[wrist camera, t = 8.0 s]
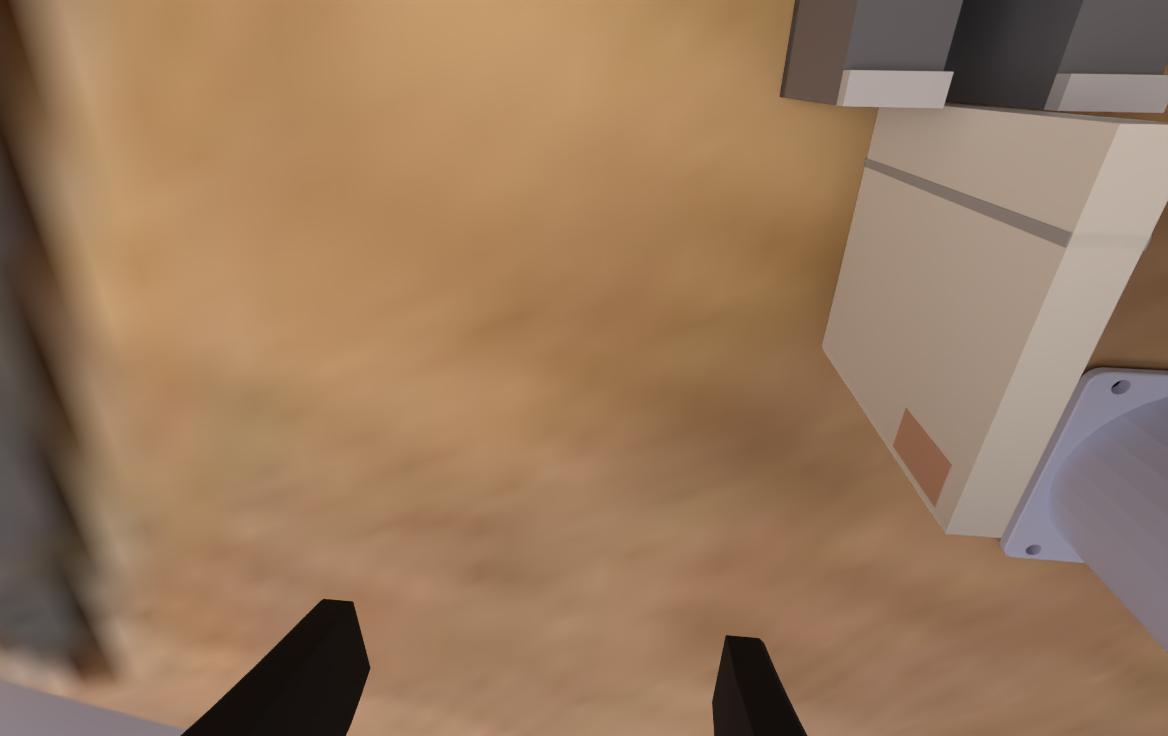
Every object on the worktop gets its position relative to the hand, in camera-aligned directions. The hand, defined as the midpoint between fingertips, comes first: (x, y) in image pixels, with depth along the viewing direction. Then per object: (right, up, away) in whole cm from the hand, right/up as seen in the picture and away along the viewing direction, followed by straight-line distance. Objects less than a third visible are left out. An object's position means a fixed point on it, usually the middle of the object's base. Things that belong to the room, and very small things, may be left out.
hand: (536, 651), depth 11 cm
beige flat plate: (+9, +9, +5) cm, 14 cm away
